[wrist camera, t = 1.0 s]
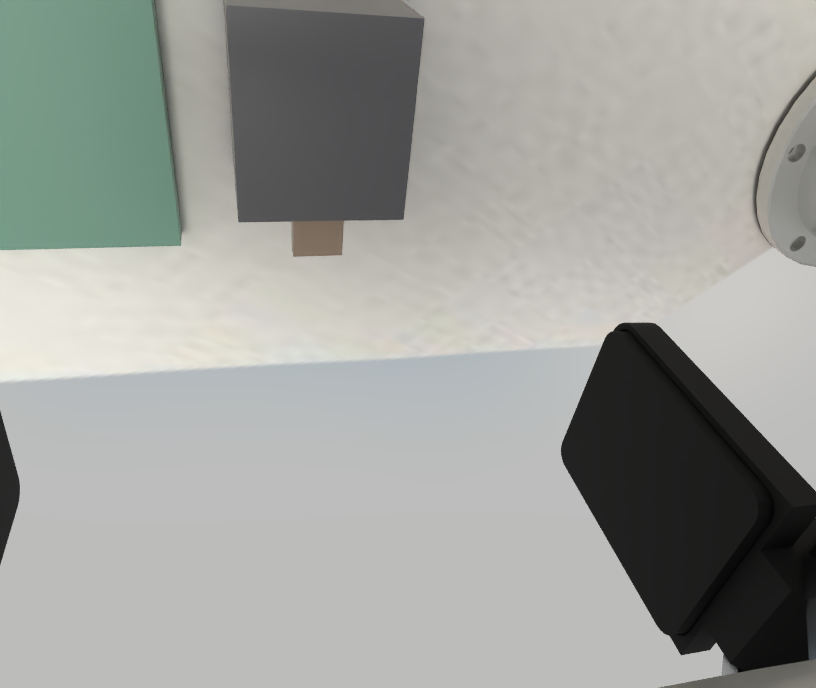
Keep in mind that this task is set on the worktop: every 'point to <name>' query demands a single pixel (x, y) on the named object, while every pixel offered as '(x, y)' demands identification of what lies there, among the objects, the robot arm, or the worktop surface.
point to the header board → (84, 127)
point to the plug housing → (321, 112)
